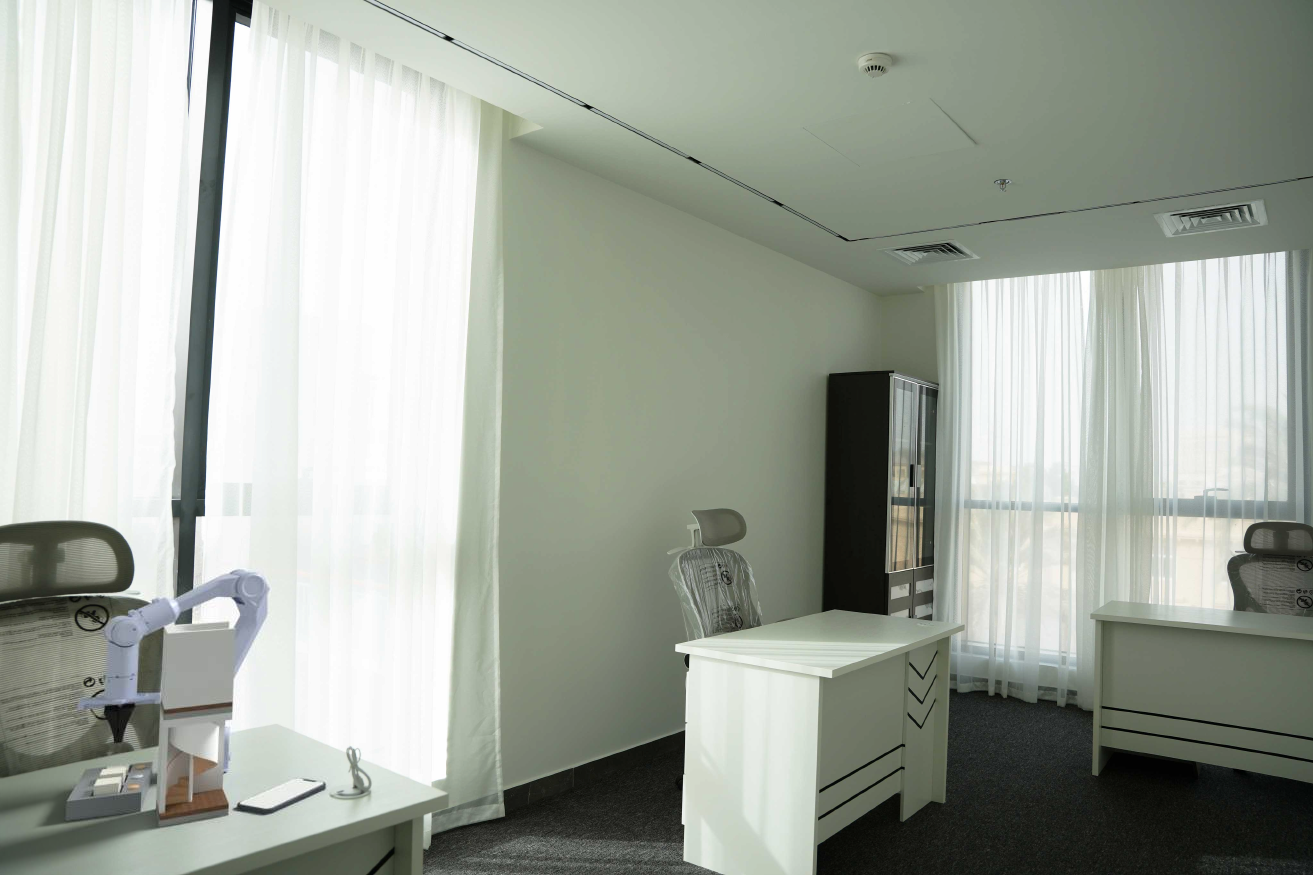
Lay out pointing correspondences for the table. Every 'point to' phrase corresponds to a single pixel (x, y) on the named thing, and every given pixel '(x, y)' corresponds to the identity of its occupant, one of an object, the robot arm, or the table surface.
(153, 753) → the table surface
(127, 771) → the button
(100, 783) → the button
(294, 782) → the smartphone
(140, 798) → the button board
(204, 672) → the spiral staircase model
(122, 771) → the middle button
